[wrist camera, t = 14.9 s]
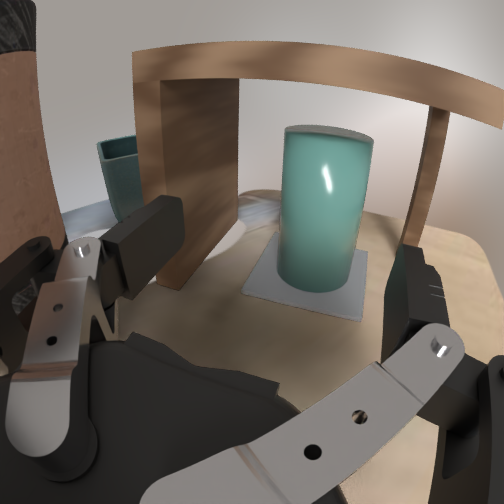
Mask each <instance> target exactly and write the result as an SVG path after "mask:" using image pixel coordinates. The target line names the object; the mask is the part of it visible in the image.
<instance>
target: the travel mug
mask: <svg viewBox="0 0 504 504" xmlns="http://www.w3.org/2000/svg"><path fill="white" fill-rule="evenodd" d="M35 52H36V6H35V3H34V2H33V1H31V0H0V263H1V262H2V261H4V260H5V259H6V258H7V257H8V256H9V255H11V254H12V253H13V252H14V251H15V250H17V249H18V248H19V247H20V246H22V245H23V244H24V243H25V242H27V241H28V240H30V239H32V238H35V237H39V236H47V237H49V238H50V240H51V243H52V246H53V249H62V250H64V249H65V247H66V246H67V245H68V244H69V243H68V239H67V235H66V232H65V227H64V224H63V220H62V217H61V213H60V209H59V205H58V201H57V197H56V193H55V189H54V184H53V180H52V176H51V171H50V166H49V161H48V156H47V150H46V144H45V138H44V132H43V125H42V118H41V110H40V102H39V91H38V79H37V61H36V53H35ZM36 296H37V295H36V293H35V290H34V288H33V286H32V284H31V281H30V280H29V281H28V282H27V283H26V284H25V285H24V286H23V287H22V288H21V289H20V290H19V291H18V292H17V293H16V294H15V295H14V296H13V299H12V307H13V309H14V311H15V313H16V314H17V315H18V314H19V313H20V312H21V311H22V310H23V309H24V308H25V307H26V306H27V305H28V304H29V303H30V302H31V301H32V300H33V299H34V298H35V297H36ZM22 362H23V361H22ZM22 362H21V364H20V365H19V366H18V367H17V369H16V370H15V371H17V370H20V368H21V366H22Z"/></svg>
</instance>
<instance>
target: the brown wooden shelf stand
mask: <svg viewBox="0 0 504 504" xmlns="http://www.w3.org/2000/svg"><path fill="white" fill-rule="evenodd" d="M132 70H133V71H132V72H133V96H134V113H135V127H136V139H137V150H138V160H139V169H140V178H141V186H142V194H143V202H144V206H146V205H147V204H148V203H150V202H151V201H153V200H154V199H155V198H157V197H158V196H160V195H169V196H175V197H180V198H181V200H182V203H183V214H184V225H185V240H184V243H183V245H182V247H181V248H180V250H179V251H178V252H177V253H176V254H175V255H174V256H173V257H172V258H171V259H170V260H169V261H168V262H167V263H166V264H165V265H164V266H163V268H162V269H161V270H160V271H159V272H158V273H157V274H156V280H157V284H159V285H163V286H166V287H169V288H172V289H176V290H180V288H181V287H182V286H183V285H184V284H185V282H186V281H187V280H188V279H189V277H190V276H191V275H192V274H193V273H194V271H195V270H196V269H197V268H198V267H199V265H200V264H201V263H202V262H203V261H204V259H205V258H206V257H207V256H208V255H209V253H210V252H211V251H212V250H213V248H214V247H215V246H216V245H217V244H218V243H219V241H220V240H221V239H222V238H223V237H224V235H225V234H226V233H227V232H228V231H229V230H230V228H231V227H232V226H233V225H234V224H235V223H236V221H237V217H238V122H239V78H245V79H268V80H284V81H295V82H306V83H315V84H323V85H330V86H337V87H345V88H351V89H357V90H363V91H368V92H373V93H378V94H383V95H389V96H393V97H397V98H402V99H406V100H410V101H414V102H418V103H422V104H426V105H429V113H428V119H427V126H426V132H425V138H424V143H423V148H422V154H421V158H420V163H419V168H418V173H417V177H416V181H415V186H414V190H413V194H412V199H411V202H410V206H409V211H408V214H407V218H406V221H405V225H404V228H403V232H402V235H401V239H400V242H399V245H398V249H399V246H400V244H401V243H403V244H407V245H411V246H415V247H417V246H418V243H419V240H420V237H421V234H422V231H423V228H424V224H425V221H426V218H427V214H428V211H429V207H430V204H431V200H432V196H433V192H434V189H435V184H436V181H437V176H438V172H439V168H440V163H441V159H442V154H443V149H444V144H445V139H446V134H447V128H448V122H449V116H450V112H453V113H457V114H460V115H463V116H466V117H469V118H472V119H475V120H478V121H480V122H483V123H486V124H489V125H491V126H494V127H497V128H499V129H502V126H503V120H504V90H503V89H500V88H498V87H496V86H493V85H491V84H488V83H485V82H483V81H480V80H478V79H474V78H472V77H469V76H466V75H463V74H460V73H457V72H454V71H451V70H448V69H445V68H441V67H438V66H434V65H431V64H427V63H423V62H420V61H416V60H411V59H407V58H403V57H398V56H394V55H389V54H384V53H379V52H373V51H367V50H362V49H355V48H348V47H340V46H333V45H324V44H311V43H300V42H280V41H227V42H208V43H195V44H185V45H175V46H167V47H160V48H153V49H147V50H140V51H135V52H132ZM398 249H397V252H398ZM397 252H396V255H397Z"/></svg>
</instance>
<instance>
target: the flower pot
mask: <svg viewBox="0 0 504 504" xmlns="http://www.w3.org/2000/svg"><path fill="white" fill-rule="evenodd" d="M97 149H98V154H99V158H100V163H101V167H102V172H103V175H104V180H105V184H106V188H107V192H108V195H109V199H110V203H111V206H112V209H113V212H114V214H115V216H116V218H117V220H118V222H119V223H121V221H122V220H123V219H124V218H126V217H128V215H130V214H131V213H132V212H134V211H135V210H136V209H139V208H141V207H144V202H143V194H142V186H141V178H140V169H139V160H138V150H137V139H136V135H131V136H125V137H120V138H115V139H110V140H105V141H102V142H98V143H97Z"/></svg>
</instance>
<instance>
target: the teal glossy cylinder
mask: <svg viewBox="0 0 504 504" xmlns="http://www.w3.org/2000/svg"><path fill="white" fill-rule="evenodd" d="M373 143H374V140H373V139H372V138H371V137H369V136H367V135H365V134H362V133H359V132H356V131H352V130H348V129H343V128H337V127H330V126H321V125H295V126H289V127H287V128H285V133H284V154H283V172H282V173H283V174H282V190H281V207H280V222H279V237H278V252H277V266H276V267H277V272H278V274H279V276H280V277H281V279H282V280H283V281H285V282H286V283H287V284H289V285H290V286H292V287H294V288H297V289H299V290H303V291H307V292H314V293H323V292H330V291H334V290H336V289H339V288H340V287H342V286H343V285H344V284H345V283H346V282H347V280H348V278H349V274H350V270H351V265H352V261H353V256H354V252H355V247H356V242H357V238H358V233H359V228H360V223H361V218H362V212H363V207H364V201H365V195H366V190H367V183H368V177H369V171H370V164H371V158H372V151H373Z"/></svg>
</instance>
